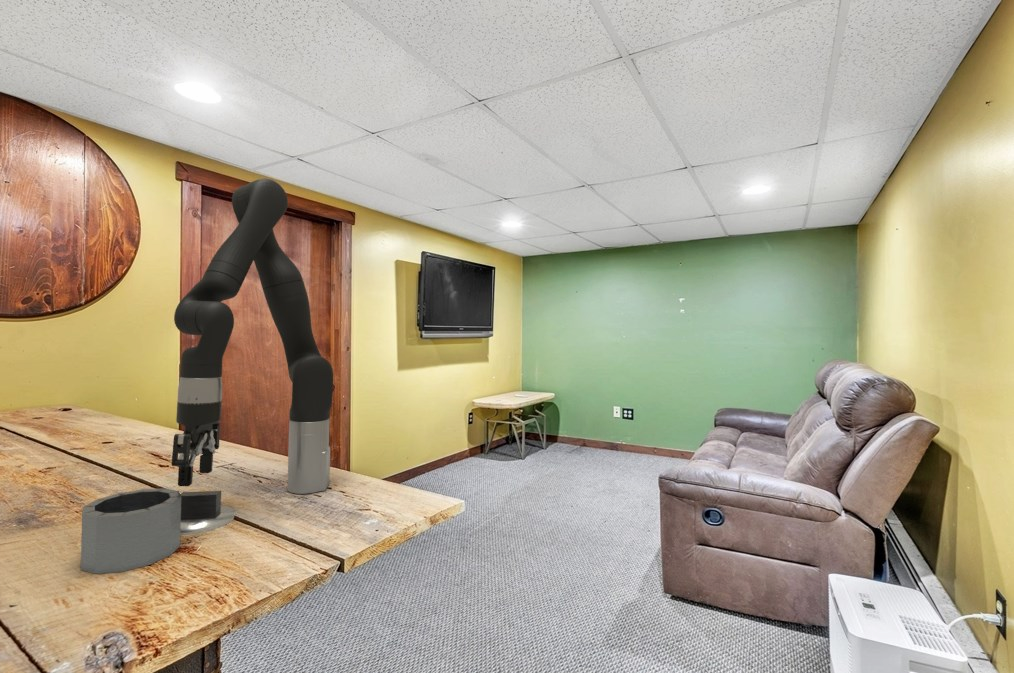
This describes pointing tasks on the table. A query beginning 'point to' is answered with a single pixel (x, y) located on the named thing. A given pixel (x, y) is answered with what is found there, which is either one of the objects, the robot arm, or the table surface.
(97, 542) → the pot
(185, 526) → the lid
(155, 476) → the table surface
